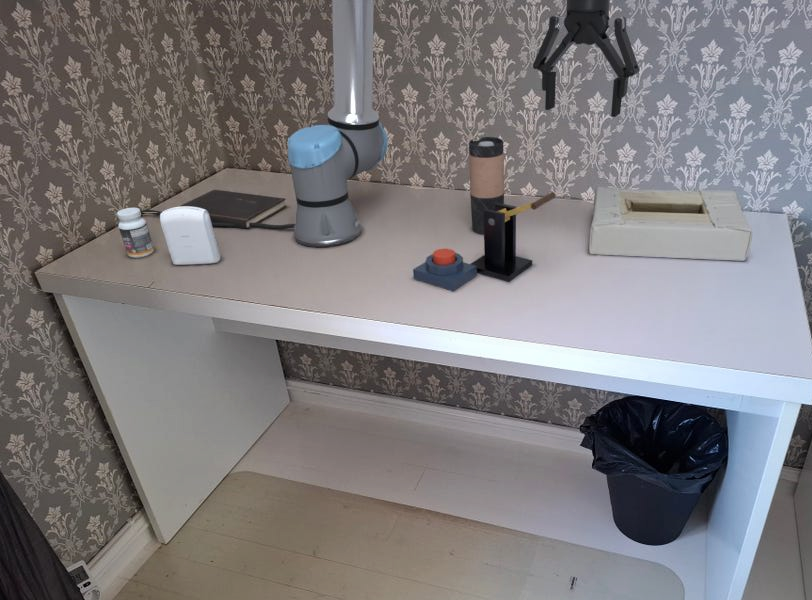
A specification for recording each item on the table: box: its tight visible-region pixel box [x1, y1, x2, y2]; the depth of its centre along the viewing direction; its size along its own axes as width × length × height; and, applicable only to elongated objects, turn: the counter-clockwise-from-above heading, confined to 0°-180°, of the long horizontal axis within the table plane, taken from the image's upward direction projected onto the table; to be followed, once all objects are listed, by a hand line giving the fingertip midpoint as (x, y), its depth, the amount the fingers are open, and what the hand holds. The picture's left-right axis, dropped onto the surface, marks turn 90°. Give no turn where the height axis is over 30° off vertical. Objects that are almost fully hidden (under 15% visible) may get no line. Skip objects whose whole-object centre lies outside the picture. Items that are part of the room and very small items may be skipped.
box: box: [588, 186, 753, 262], centre depth 148 cm, size 23×8×32 cm
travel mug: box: [468, 136, 505, 235], centre depth 152 cm, size 8×8×20 cm
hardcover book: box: [178, 189, 288, 230], centre depth 172 cm, size 16×23×2 cm
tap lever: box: [498, 191, 556, 222], centre depth 130 cm, size 13×7×2 cm, turn 55°
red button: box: [432, 248, 456, 265], centre depth 134 cm, size 4×4×2 cm
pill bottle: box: [116, 207, 155, 259], centre depth 150 cm, size 6×6×10 cm
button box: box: [412, 252, 478, 292], centre depth 136 cm, size 10×8×4 cm
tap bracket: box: [470, 203, 533, 283], centre depth 136 cm, size 10×9×13 cm
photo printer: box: [159, 205, 221, 266], centre depth 144 cm, size 10×4×12 cm, turn 90°
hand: (582, 112), depth 130 cm, fingers open, 13 cm apart
